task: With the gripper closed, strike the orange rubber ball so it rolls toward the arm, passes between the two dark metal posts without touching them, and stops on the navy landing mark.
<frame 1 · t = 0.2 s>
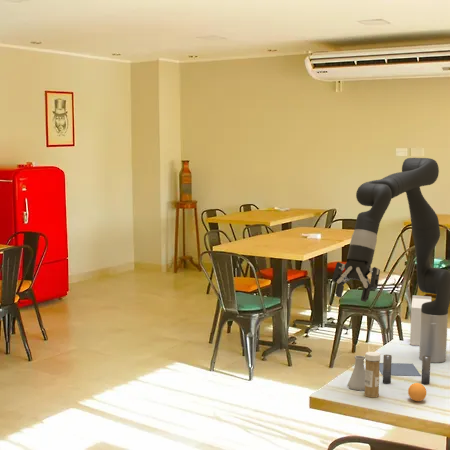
hand: (350, 299, 212), 31 cm above the table, tool tilted 20°, fingers open, 8 cm apart
sprinkles bottle: (371, 396, 220), on the table
flask: (358, 387, 228), on the table
post 1: (386, 382, 232), on the table
landing mark: (397, 369, 246), on the table
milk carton: (419, 344, 278), on the table
post 2: (425, 383, 231), on the table
ball: (417, 392, 216), on the table
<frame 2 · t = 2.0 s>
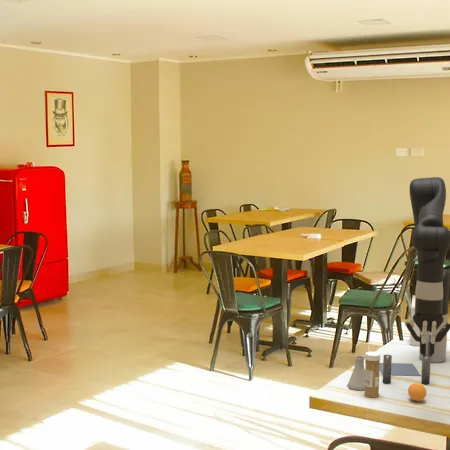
hand: (426, 355, 204), 17 cm above the table, tool pointing down, fingers closed
nothing on the table moved.
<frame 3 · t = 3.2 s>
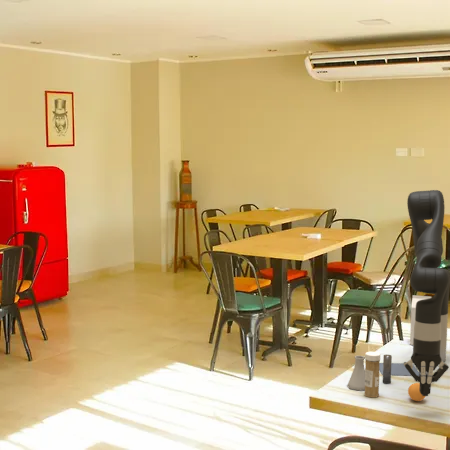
hand: (424, 395, 206), 5 cm above the table, tool pointing down, fingers closed
nothing on the table moved.
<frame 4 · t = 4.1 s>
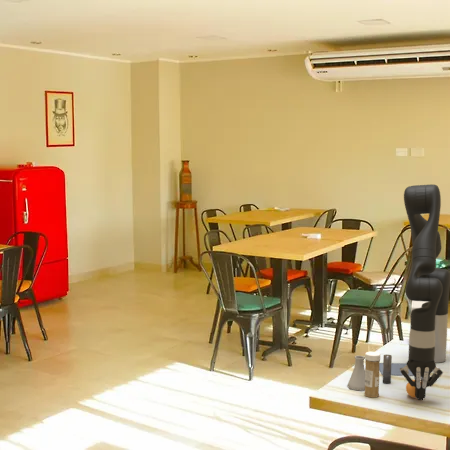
hand: (419, 399, 215), 1 cm above the table, tool pointing down, fingers closed
ball: (415, 388, 218), on the table, touching gripper
everything else where it was.
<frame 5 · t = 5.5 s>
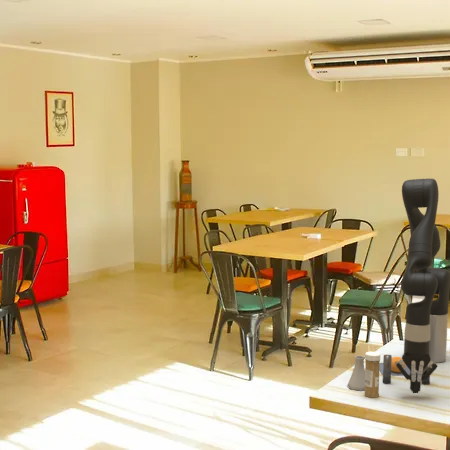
hand: (414, 392, 219), 2 cm above the table, tool pointing down, fingers closed
ball: (396, 364, 242), on the table
everything else where it was.
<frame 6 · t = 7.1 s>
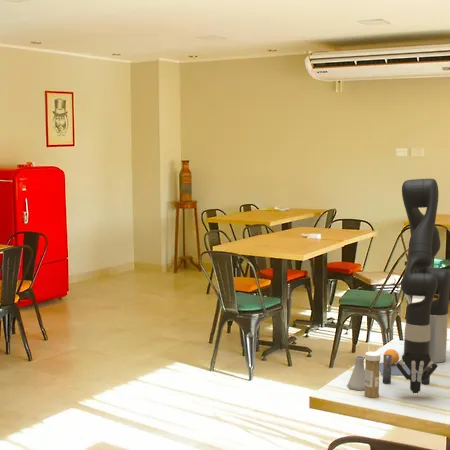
hand: (414, 392, 219), 2 cm above the table, tool pointing down, fingers closed
ball: (391, 357, 251), on the table
everything else where it was.
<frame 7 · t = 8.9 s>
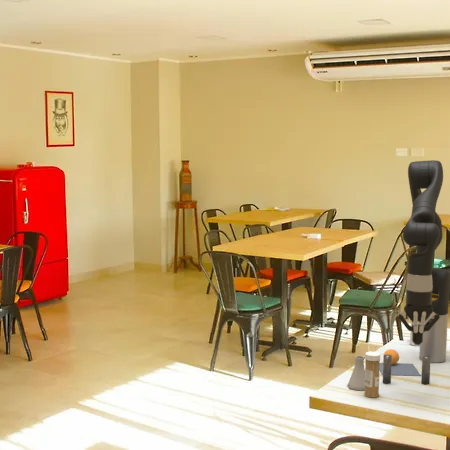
hand: (417, 344, 217), 17 cm above the table, tool pointing down, fingers closed
nothing on the table moved.
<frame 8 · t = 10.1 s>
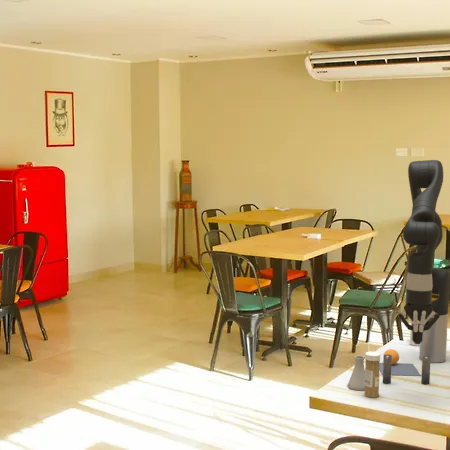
hand: (416, 343, 217), 17 cm above the table, tool pointing down, fingers closed
nothing on the table moved.
at the end: ball 5.7 cm from the landing mark (horizontally); ball never touched post 2; ball never touched post 1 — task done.
